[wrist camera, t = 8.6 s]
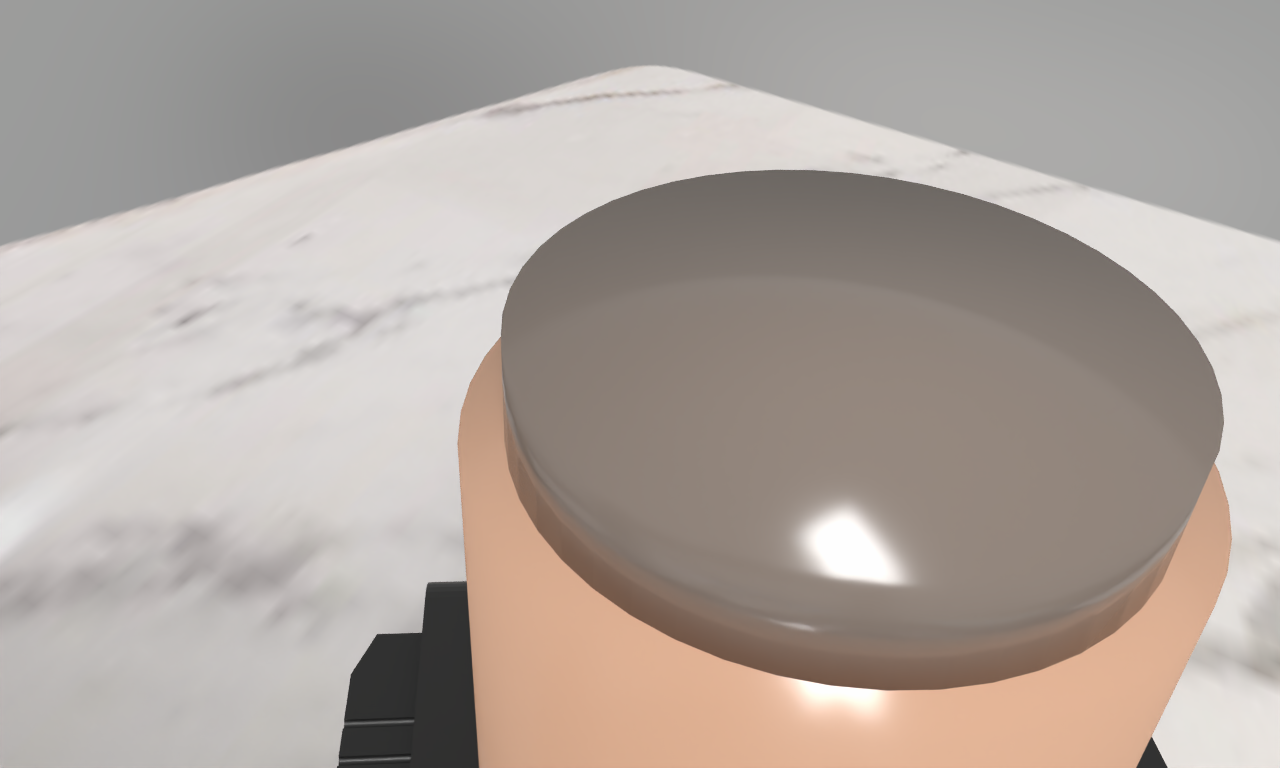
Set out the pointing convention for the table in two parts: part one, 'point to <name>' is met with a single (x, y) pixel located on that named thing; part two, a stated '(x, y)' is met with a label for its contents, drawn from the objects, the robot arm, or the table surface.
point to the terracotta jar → (833, 488)
